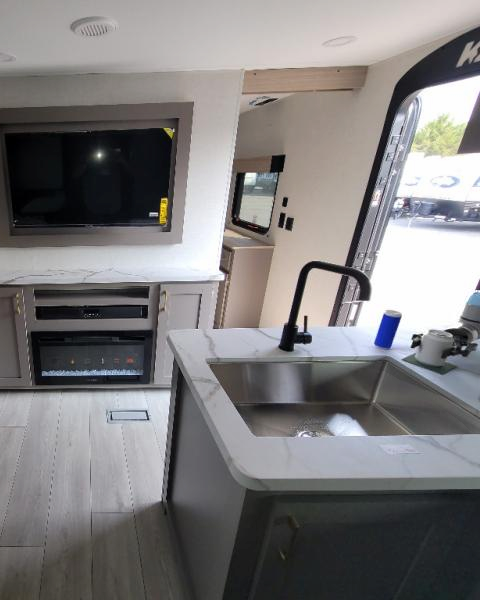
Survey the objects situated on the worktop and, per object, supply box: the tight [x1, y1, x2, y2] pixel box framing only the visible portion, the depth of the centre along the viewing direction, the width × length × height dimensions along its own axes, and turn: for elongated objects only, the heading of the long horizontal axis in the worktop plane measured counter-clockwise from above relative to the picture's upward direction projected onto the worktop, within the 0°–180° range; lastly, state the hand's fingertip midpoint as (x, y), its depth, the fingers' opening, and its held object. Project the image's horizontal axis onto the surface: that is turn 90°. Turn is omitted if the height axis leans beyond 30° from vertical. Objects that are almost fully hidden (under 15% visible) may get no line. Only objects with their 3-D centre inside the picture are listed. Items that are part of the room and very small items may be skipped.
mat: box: [401, 352, 458, 375], centre depth 118 cm, size 11×11×1 cm
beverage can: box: [373, 309, 403, 350], centre depth 128 cm, size 5×5×15 cm
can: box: [415, 329, 454, 367], centre depth 116 cm, size 8×8×12 cm
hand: (427, 349), depth 114 cm, fingers closed on can, 7 cm apart
